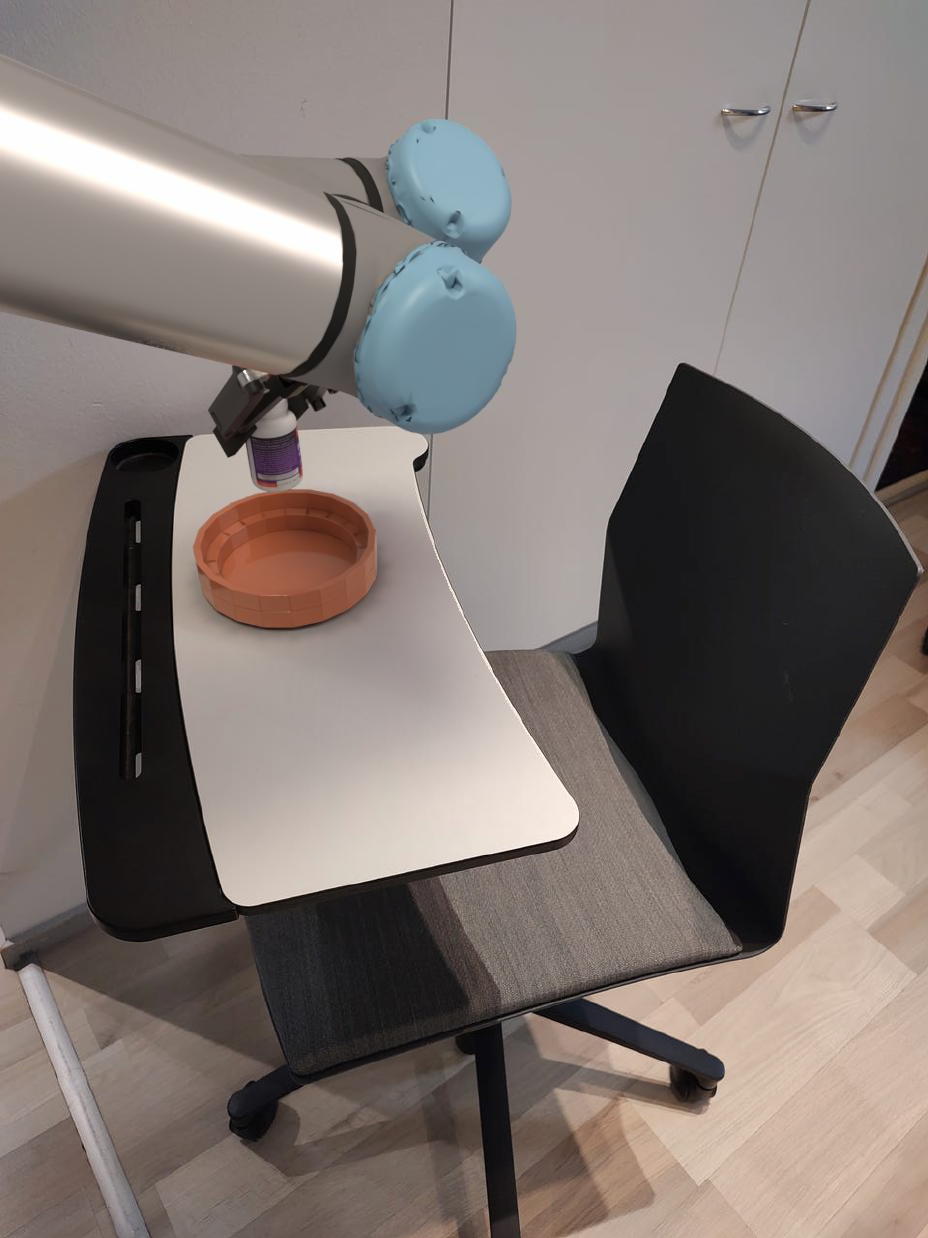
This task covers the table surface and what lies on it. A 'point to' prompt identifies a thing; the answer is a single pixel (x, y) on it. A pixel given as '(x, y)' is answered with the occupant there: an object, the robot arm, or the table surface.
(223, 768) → the table surface
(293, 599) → the bowl
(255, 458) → the pill bottle
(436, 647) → the table surface
